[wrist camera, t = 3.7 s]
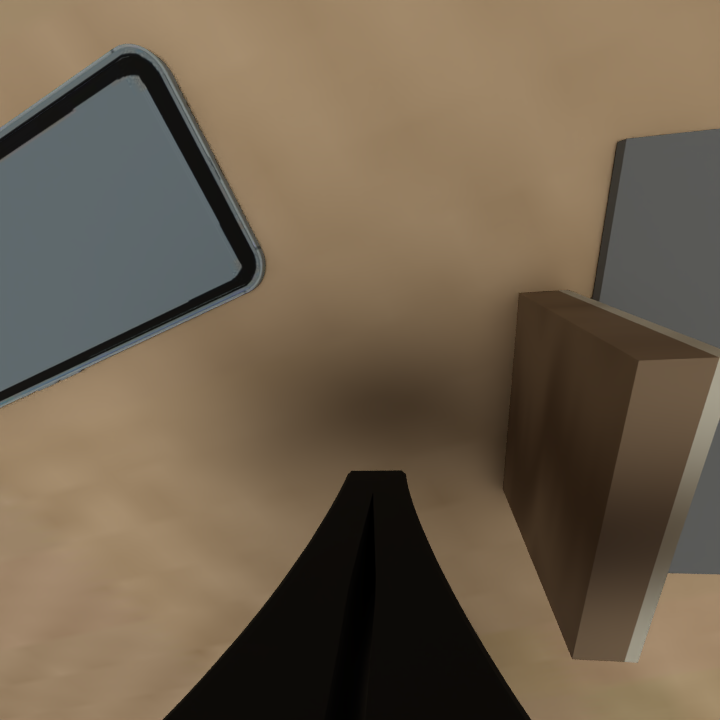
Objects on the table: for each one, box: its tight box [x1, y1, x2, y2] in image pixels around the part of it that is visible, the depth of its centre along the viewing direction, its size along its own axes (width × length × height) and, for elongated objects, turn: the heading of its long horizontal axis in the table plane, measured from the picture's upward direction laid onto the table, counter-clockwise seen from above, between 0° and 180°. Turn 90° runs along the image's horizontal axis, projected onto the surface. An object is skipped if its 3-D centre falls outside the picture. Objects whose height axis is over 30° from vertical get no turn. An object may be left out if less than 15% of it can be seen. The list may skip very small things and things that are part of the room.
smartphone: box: [0, 44, 266, 407], centre depth 12 cm, size 7×1×15 cm
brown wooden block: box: [503, 290, 720, 663], centre depth 10 cm, size 8×2×6 cm, turn 5°
